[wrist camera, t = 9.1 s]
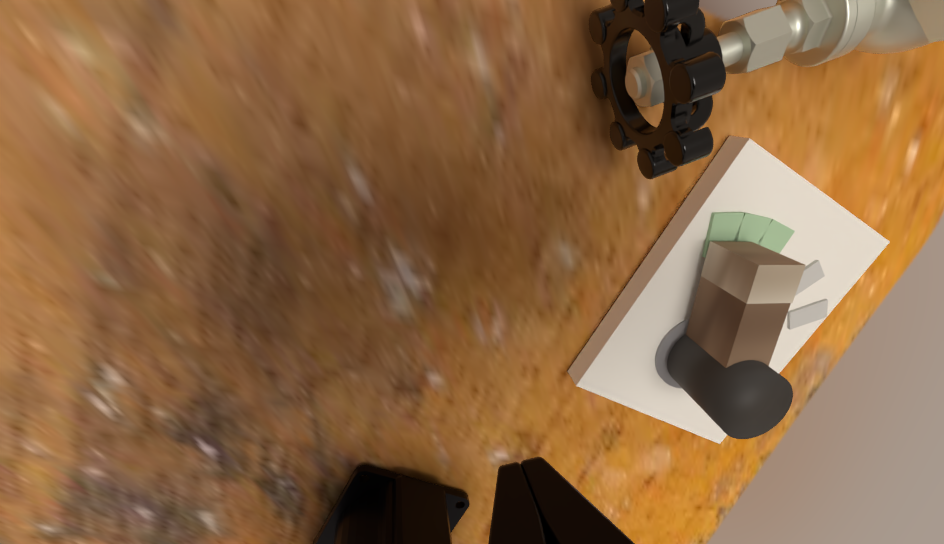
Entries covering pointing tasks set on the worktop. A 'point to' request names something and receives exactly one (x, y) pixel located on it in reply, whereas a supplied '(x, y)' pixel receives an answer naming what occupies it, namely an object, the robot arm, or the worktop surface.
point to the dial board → (680, 266)
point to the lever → (738, 337)
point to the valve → (729, 59)
